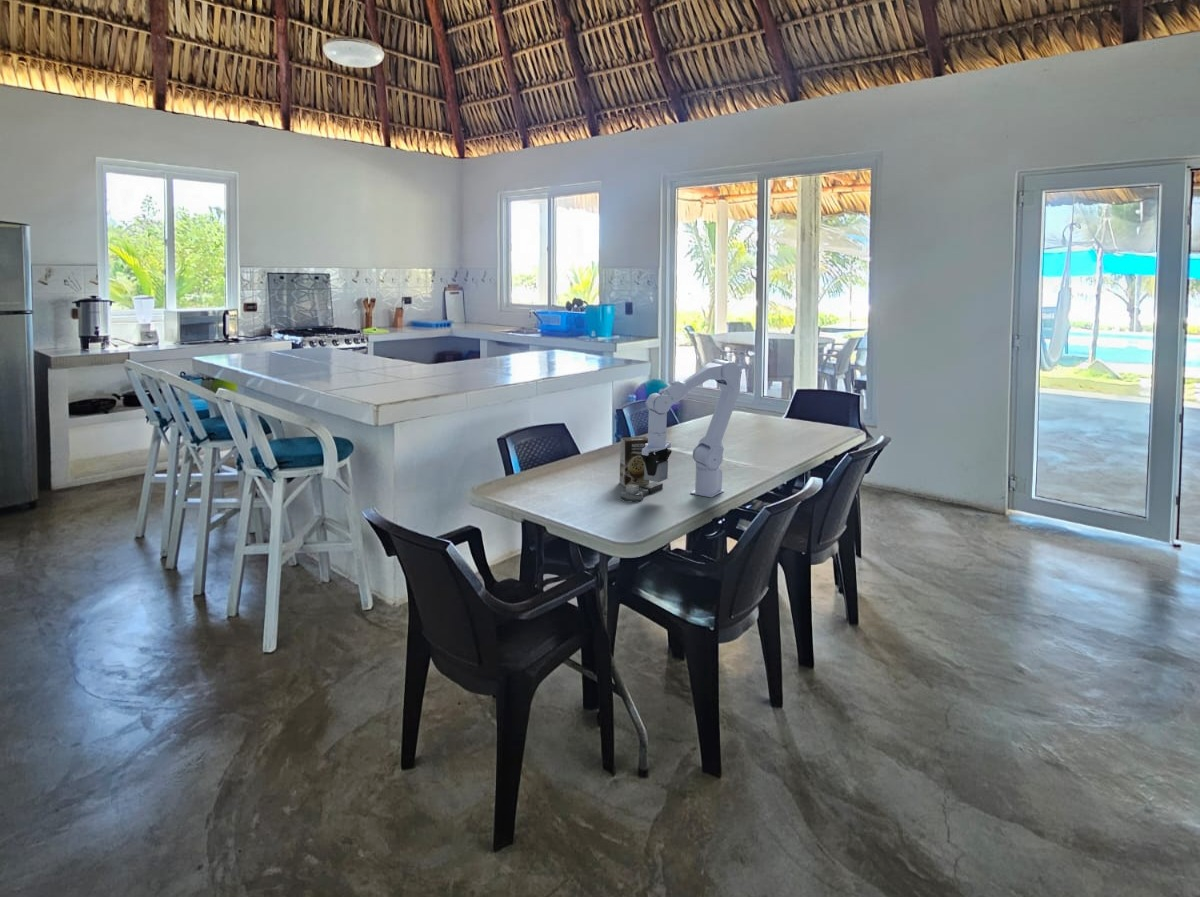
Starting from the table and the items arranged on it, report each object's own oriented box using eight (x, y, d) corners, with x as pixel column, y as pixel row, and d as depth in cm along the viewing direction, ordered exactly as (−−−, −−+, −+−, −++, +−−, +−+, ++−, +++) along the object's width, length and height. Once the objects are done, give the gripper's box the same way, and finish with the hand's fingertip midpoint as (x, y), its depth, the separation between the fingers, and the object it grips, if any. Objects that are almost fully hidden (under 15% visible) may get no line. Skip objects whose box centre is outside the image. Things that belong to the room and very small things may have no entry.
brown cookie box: (624, 487, 264) (625, 441, 260) (619, 482, 270) (619, 437, 266) (650, 485, 266) (651, 439, 263) (644, 480, 272) (645, 435, 269)
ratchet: (649, 486, 266) (649, 473, 265) (667, 489, 262) (667, 476, 261) (617, 499, 250) (617, 485, 249) (635, 503, 246) (635, 489, 245)
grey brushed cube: (653, 476, 253) (653, 458, 252) (667, 478, 250) (668, 460, 249) (644, 479, 249) (644, 461, 247) (658, 482, 246) (659, 463, 244)
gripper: (658, 426, 254) (657, 467, 257) (633, 433, 243) (632, 475, 246) (677, 429, 250) (675, 470, 253) (653, 436, 239) (652, 479, 242)
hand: (655, 473), depth 249 cm, fingers closed on grey brushed cube, 5 cm apart
